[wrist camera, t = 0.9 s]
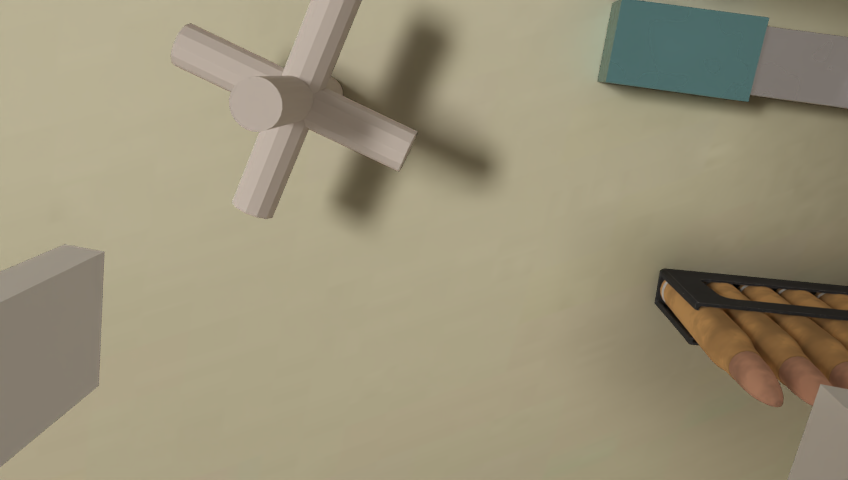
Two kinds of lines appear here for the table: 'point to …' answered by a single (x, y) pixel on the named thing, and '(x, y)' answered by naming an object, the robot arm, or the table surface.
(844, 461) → the robot arm
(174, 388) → the table surface
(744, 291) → the ammunition clip
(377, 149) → the pipe connector
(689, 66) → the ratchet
